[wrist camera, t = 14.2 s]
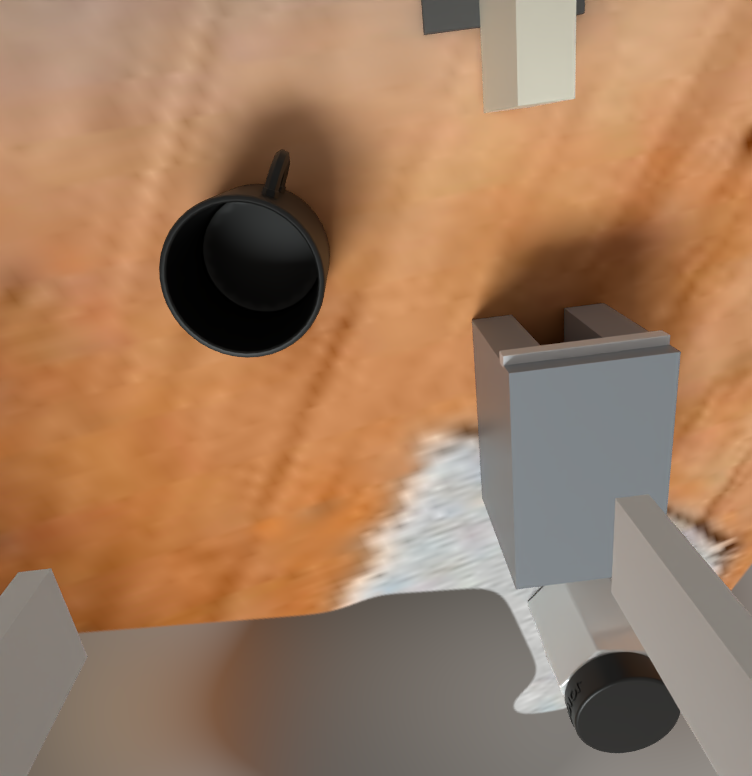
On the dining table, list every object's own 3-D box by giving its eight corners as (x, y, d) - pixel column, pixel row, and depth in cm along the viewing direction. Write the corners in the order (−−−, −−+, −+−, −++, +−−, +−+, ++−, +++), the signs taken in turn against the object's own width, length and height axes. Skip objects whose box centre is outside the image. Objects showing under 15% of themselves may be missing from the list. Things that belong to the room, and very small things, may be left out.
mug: (359, 173, 40) (361, 182, 32) (308, 333, 45) (298, 377, 36) (222, 123, 39) (188, 118, 30) (183, 294, 43) (143, 330, 35)
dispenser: (482, 498, 51) (516, 589, 40) (471, 312, 44) (508, 363, 34) (598, 483, 51) (661, 571, 40) (604, 295, 44) (681, 342, 34)
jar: (516, 585, 55) (558, 698, 44) (600, 553, 54) (665, 660, 43) (547, 650, 58) (593, 770, 47) (626, 620, 57) (693, 736, 46)
